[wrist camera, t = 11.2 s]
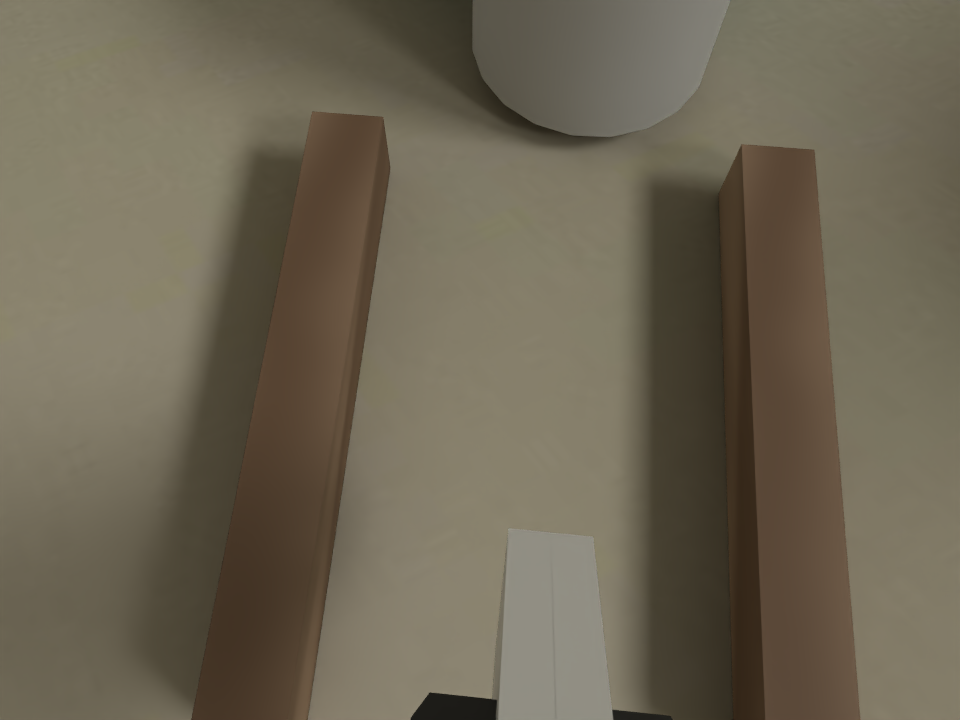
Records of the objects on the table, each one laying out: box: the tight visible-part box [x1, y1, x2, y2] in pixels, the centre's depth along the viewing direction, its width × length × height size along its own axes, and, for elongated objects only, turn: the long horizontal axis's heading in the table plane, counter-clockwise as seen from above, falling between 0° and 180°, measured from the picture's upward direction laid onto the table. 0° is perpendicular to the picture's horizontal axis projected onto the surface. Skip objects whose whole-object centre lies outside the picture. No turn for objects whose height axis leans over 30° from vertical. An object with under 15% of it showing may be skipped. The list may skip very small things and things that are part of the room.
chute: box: [191, 112, 860, 720], centre depth 22 cm, size 14×16×2 cm
